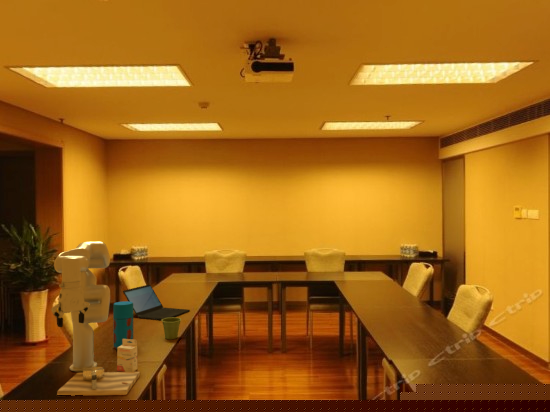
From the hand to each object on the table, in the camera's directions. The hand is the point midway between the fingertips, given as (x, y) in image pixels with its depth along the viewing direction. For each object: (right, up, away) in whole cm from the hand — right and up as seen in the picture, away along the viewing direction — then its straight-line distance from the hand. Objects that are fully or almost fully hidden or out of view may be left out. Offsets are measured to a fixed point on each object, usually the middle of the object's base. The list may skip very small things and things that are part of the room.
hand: (70, 324), depth 202 cm
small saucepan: (+9, -26, +3) cm, 28 cm away
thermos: (+3, -29, +62) cm, 69 cm away
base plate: (+11, -28, +5) cm, 31 cm away
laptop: (+1, -30, +145) cm, 148 cm away
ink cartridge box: (+17, -29, +24) cm, 41 cm away
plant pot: (+26, -29, +80) cm, 89 cm away
